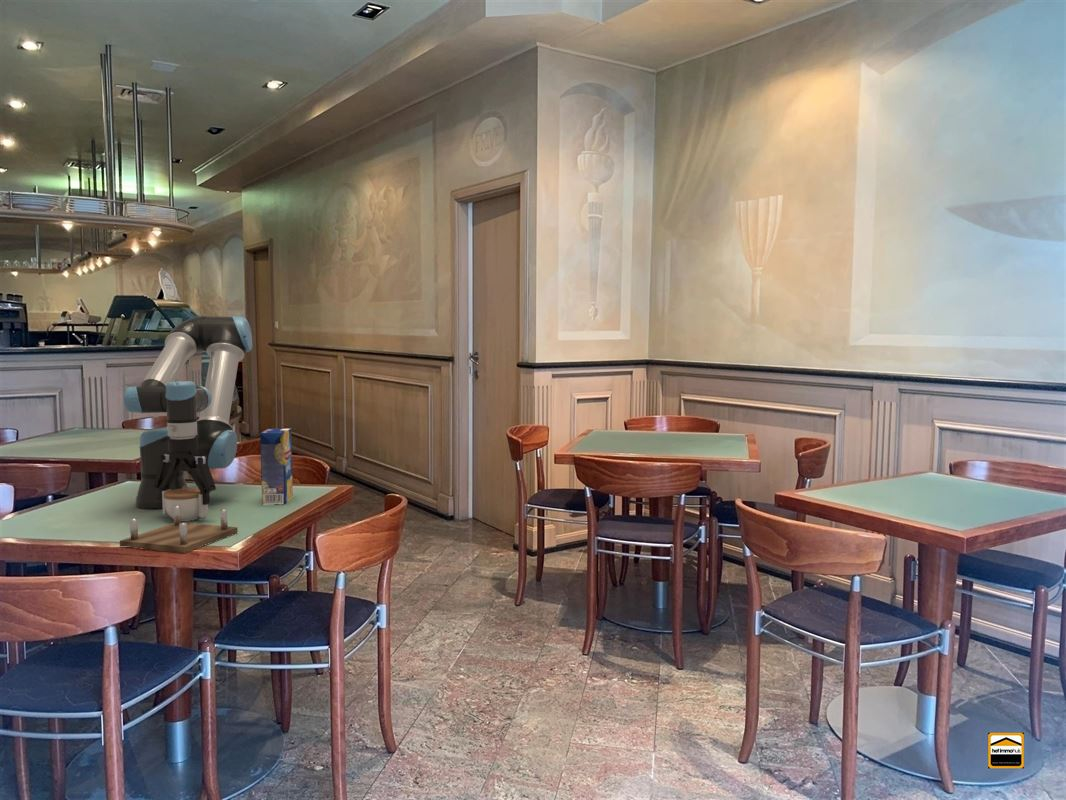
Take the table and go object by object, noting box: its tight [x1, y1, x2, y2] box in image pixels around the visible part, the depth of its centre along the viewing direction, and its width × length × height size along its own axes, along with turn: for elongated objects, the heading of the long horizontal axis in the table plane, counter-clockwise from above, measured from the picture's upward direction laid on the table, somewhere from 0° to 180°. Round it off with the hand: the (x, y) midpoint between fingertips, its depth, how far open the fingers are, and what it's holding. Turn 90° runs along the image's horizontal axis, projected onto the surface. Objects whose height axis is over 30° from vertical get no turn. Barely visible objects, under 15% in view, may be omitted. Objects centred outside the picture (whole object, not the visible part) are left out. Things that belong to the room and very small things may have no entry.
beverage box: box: [259, 428, 294, 506], centre depth 232 cm, size 7×11×22 cm, turn 6°
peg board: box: [119, 522, 239, 554], centre depth 189 cm, size 19×19×2 cm
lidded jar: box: [163, 485, 200, 522], centre depth 209 cm, size 11×11×9 cm
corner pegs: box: [129, 505, 229, 545], centre depth 188 cm, size 16×16×5 cm
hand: (185, 514), depth 210 cm, fingers open, 11 cm apart
